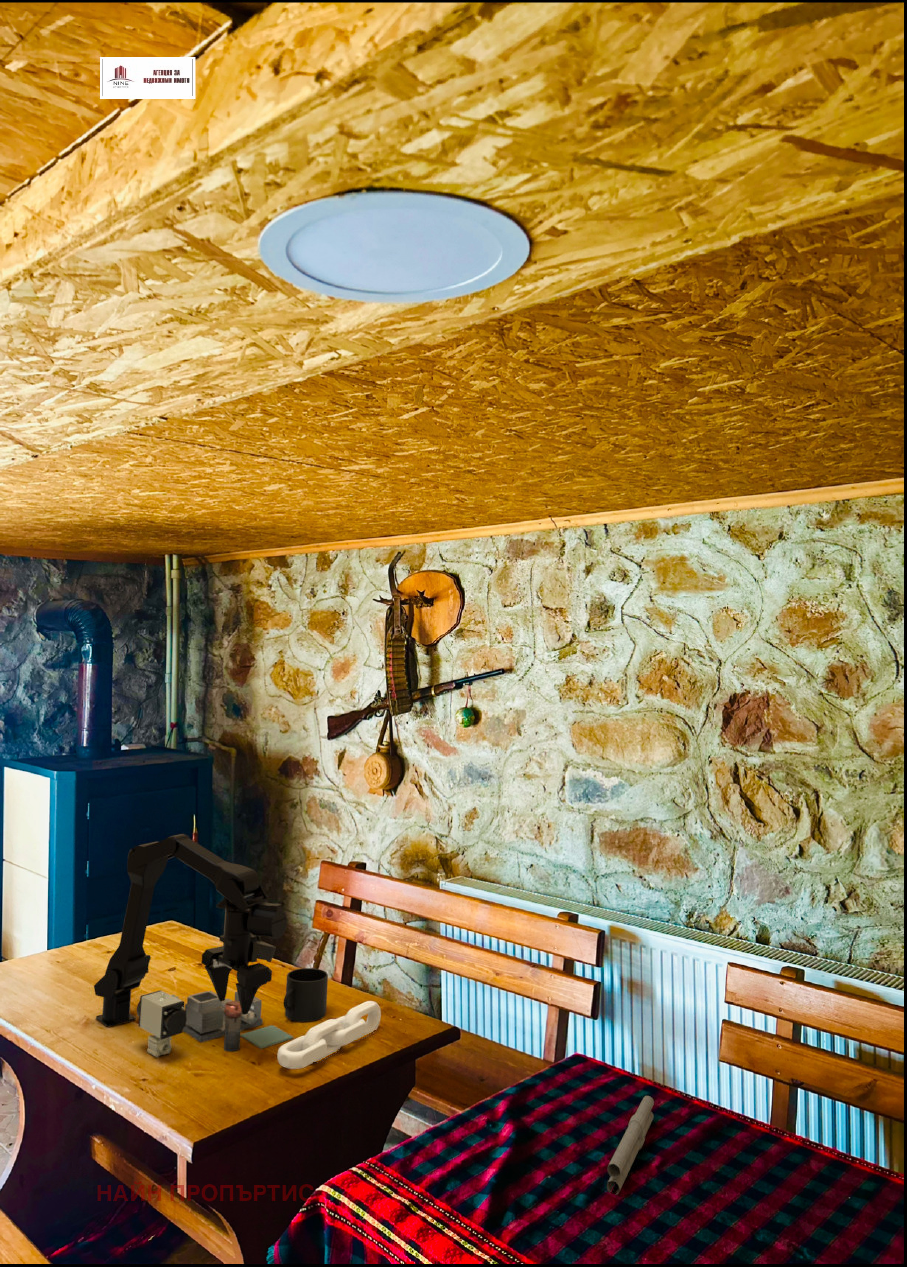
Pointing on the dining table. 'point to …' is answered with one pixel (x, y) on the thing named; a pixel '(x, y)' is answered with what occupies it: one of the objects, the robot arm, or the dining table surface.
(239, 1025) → the round metal peg
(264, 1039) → the mat
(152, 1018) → the pneumatic valve
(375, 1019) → the chain
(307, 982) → the mug
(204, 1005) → the bracket
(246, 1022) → the clamp base
